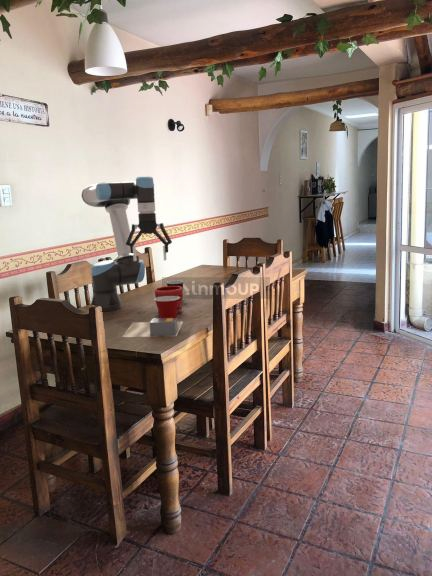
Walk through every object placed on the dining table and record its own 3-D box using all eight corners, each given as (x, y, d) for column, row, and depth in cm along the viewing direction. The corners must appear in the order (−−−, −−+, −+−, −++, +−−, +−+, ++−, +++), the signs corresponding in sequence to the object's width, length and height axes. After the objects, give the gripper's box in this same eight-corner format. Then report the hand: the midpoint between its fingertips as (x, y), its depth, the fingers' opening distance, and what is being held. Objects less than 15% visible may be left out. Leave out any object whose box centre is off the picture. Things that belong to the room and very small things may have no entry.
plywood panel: (121, 340, 190) (121, 337, 189) (133, 325, 209) (132, 322, 209) (176, 339, 188) (176, 336, 188) (183, 324, 208) (183, 321, 208)
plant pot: (188, 310, 231) (187, 286, 228) (173, 317, 220) (171, 291, 217) (167, 307, 238) (165, 284, 235) (150, 314, 227) (148, 289, 224)
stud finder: (150, 336, 189) (149, 321, 188) (153, 331, 195) (152, 317, 194) (175, 335, 189) (174, 321, 187) (177, 331, 195) (176, 317, 193)
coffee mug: (181, 302, 246) (180, 283, 244) (165, 302, 248) (164, 283, 245) (187, 297, 257) (186, 279, 255) (172, 297, 259) (171, 279, 256)
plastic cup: (181, 320, 209) (180, 293, 207) (180, 327, 199) (179, 299, 196) (156, 321, 209) (154, 294, 206) (154, 328, 198) (152, 300, 196)
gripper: (116, 214, 207) (120, 262, 212) (173, 212, 206) (176, 260, 210) (121, 212, 214) (124, 259, 219) (176, 211, 213) (178, 258, 218)
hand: (150, 260), depth 215 cm, fingers open, 13 cm apart
